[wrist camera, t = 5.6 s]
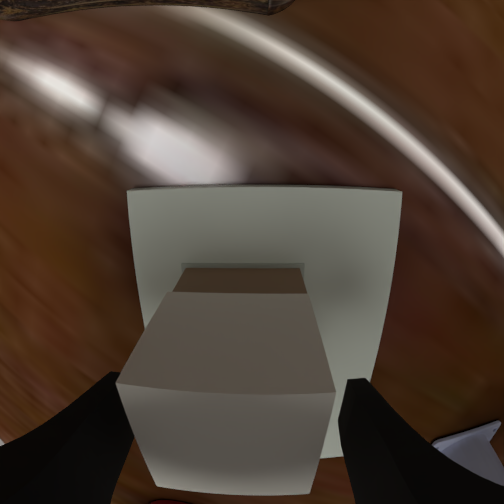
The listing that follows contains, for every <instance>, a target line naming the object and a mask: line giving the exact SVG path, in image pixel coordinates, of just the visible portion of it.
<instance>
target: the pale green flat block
mask: <svg viewBox="0 0 504 504" xmlns="http://www.w3.org/2000/svg"><path fill="white" fill-rule="evenodd" d="M127 200H128V212H129V222H130V232H131V241H132V249H133V257H134V265H135V272H136V279H137V285H138V292H139V298H140V304H141V310H142V316H143V321H144V326H145V329H146V327H147V325H148V324H149V322H150V320H151V318H152V317H153V315H154V313H155V312H156V310H157V308H158V306H159V305H160V303H161V301H162V300H163V298H164V296H165V295H166V293H167V292H199V293H257V294H309V297H310V301H311V304H312V308H313V311H314V314H315V318H316V321H317V325H318V328H319V332H320V335H321V339H322V342H323V346H324V349H325V353H326V356H327V360H328V364H329V367H330V371H331V375H332V378H333V382H334V386H335V389H336V396H335V400H334V405H333V409H332V413H331V417H330V421H329V425H328V429H327V433H326V437H325V441H324V445H323V449H322V452H321V456H320V458H329V457H339V456H343V452H342V448H341V442H340V435H339V427H338V417H339V413H340V409H341V405H342V401H343V396H344V392H345V388H346V383H347V379H356V378H366V379H367V380H368V381H369V382H370V379H371V376H372V372H373V368H374V364H375V360H376V356H377V352H378V348H379V343H380V339H381V334H382V330H383V325H384V320H385V315H386V310H387V305H388V300H389V294H390V289H391V283H392V276H393V270H394V263H395V256H396V249H397V241H398V233H399V224H400V214H401V203H402V191H399V190H396V189H386V188H369V187H349V186H322V185H196V186H169V187H148V188H133V189H131V190H128V191H127Z"/></svg>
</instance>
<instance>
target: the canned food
mask: <svg viewBox="0 0 504 504" xmlns="http://www.w3.org/2000/svg"><path fill="white" fill-rule="evenodd" d="M150 504H189V503H184V502H180V501H173V500H157V501H153V502H151V503H150Z"/></svg>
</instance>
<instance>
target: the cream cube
mask: <svg viewBox="0 0 504 504" xmlns="http://www.w3.org/2000/svg"><path fill="white" fill-rule="evenodd" d="M116 386H117V389H118V392H119V395H120V398H121V401H122V404H123V407H124V409H125V412H126V415H127V418H128V420H129V423H130V425H131V428H132V431H133V433H134V436H135V438H136V441H137V443H138V445H139V448H140V450H141V453H142V455H143V457H144V459H145V462H146V464H147V466H148V468H149V471H150V473H151V475H152V477H153V479H154V481H155V483H156V485H157V486H159V487H165V488H172V489H179V490H186V491H195V492H205V493H217V494H233V495H295V494H309V493H310V490H311V486H312V483H313V480H314V477H315V473H316V470H317V466H318V463H319V459H320V456H321V452H322V449H323V445H324V441H325V437H326V433H327V429H328V425H329V421H330V417H331V413H332V409H333V405H334V400H335V396H336V389H335V386H334V382H333V378H332V375H331V371H330V367H329V364H328V360H327V356H326V353H325V349H324V346H323V342H322V339H321V335H320V332H319V328H318V325H317V321H316V318H315V314H314V311H313V308H312V304H311V301H310V297H309V294H257V293H199V292H167V293H166V295H165V296H164V298H163V300H162V301H161V303H160V305H159V306H158V308H157V310H156V312H155V313H154V315H153V317H152V318H151V320H150V322H149V324H148V325H147V327H146V329H145V331H144V332H143V334H142V336H141V338H140V339H139V341H138V343H137V345H136V346H135V348H134V350H133V352H132V354H131V355H130V357H129V359H128V361H127V363H126V364H125V366H124V368H123V370H122V372H121V374H120V375H119V377H118V379H117V381H116Z"/></svg>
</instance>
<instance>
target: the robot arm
mask: <svg viewBox="0 0 504 504" xmlns="http://www.w3.org/2000/svg"><path fill="white" fill-rule="evenodd" d="M120 374H121V373H119V372H112V371H111V372H109V373H108V374H107V375H106V376H104V377H103V378H102V379H101V380H99V381H98V382H97V383H96V384H95V385H93V386H92V387H91V388H90V389H89V390H87V391H86V392H85V393H84V394H83V395H81V396H80V397H79V398H78V399H76V400H75V401H74V402H73V403H71V404H70V405H69V406H68V407H66V408H65V409H63V410H62V411H61V412H59V413H58V414H57V415H55V416H54V417H52V418H51V419H50V420H48V421H47V422H45V423H44V424H42V425H41V426H39V427H37V428H36V429H34V430H32V431H31V432H29V433H27V434H25V435H24V436H22V437H20V438H18V439H15V440H13V441H11V442H9V443H7V444H4V445H2V446H0V504H110V503H111V498H112V495H113V492H114V489H115V486H116V483H117V480H118V478H119V475H120V473H121V470H122V467H123V465H124V462H125V460H126V457H127V455H128V452H129V450H130V447H131V444H132V442H133V439H134V433H133V431H132V428H131V425H130V423H129V420H128V418H127V415H126V412H125V409H124V407H123V404H122V401H121V398H120V395H119V392H118V389H117V386H116V381H117V379H118V377H119V375H120ZM500 425H501V422H500V421H499V420H497V421H495V422H492V423H489V424H486V425H484V426H481V427H478V428H475V429H472V430H469V431H465V432H462V433H459V434H456V435H452V436H449V437H445V438H441V439H438V440H436V441H434V442H433V444H432V445H431V444H430V443H428V442H427V441H426V440H425V439H424V438H423V437H421V436H420V435H419V434H418V433H417V432H416V431H415V430H414V429H413V428H412V427H411V426H410V425H409V424H408V423H407V422H406V421H405V420H404V419H403V418H402V417H401V416H400V415H399V414H398V413H397V412H396V411H395V410H394V409H393V408H392V407H391V406H390V405H389V404H388V403H387V401H386V400H385V399H384V398H383V397H382V396H381V395H380V394H379V393H378V391H377V390H376V389H375V388H374V387H373V386H372V385H371V383H370V382H369V381H368V380H367V379H366V378H356V379H347V383H346V388H345V392H344V396H343V401H342V405H341V409H340V413H339V417H338V427H339V435H340V442H341V448H342V452H343V456H344V459H345V463H346V467H347V471H348V475H349V478H350V482H351V486H352V490H353V494H354V498H355V503H356V504H504V467H503V465H502V464H501V462H500V460H499V458H498V456H497V455H496V453H495V451H494V449H493V447H492V446H491V444H490V442H489V441H490V440H491V439H492V437H493V436H494V434H495V433H496V431H497V429H498V428H499V426H500Z"/></svg>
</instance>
